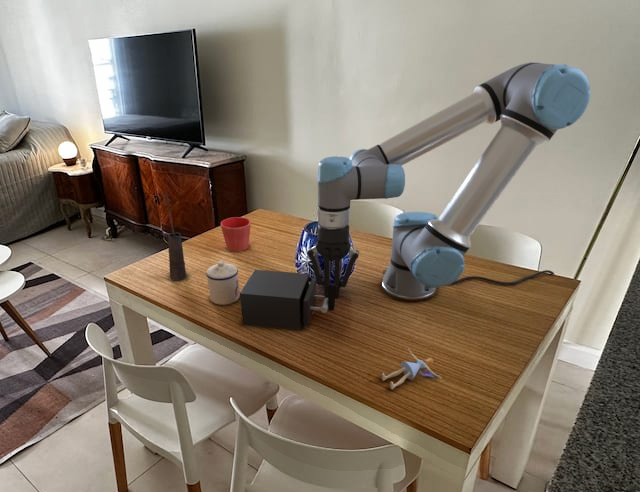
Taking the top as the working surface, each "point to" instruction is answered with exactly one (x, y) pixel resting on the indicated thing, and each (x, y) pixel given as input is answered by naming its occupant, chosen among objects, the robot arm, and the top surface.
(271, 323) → the dark grey box
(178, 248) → the butter churn
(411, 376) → the fairy figurine
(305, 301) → the open drawer
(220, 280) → the teacup with lid
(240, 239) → the flower pot
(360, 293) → the top surface
